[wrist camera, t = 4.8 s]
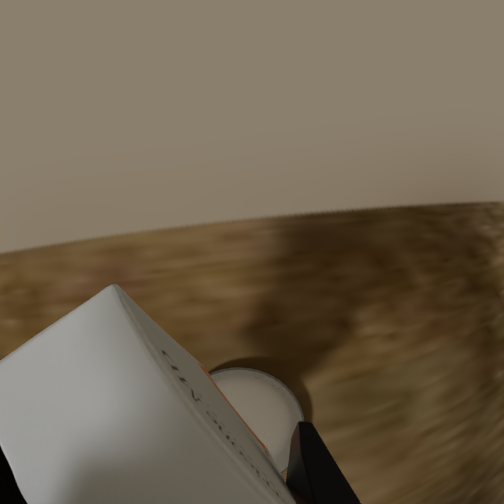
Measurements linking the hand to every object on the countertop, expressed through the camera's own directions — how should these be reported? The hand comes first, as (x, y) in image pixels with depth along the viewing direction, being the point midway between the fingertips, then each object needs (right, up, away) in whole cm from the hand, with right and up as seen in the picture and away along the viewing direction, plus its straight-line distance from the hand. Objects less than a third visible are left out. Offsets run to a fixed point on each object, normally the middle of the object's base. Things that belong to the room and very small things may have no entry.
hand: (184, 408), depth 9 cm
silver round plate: (+1, -8, +11) cm, 13 cm away
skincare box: (0, -4, +6) cm, 7 cm away
